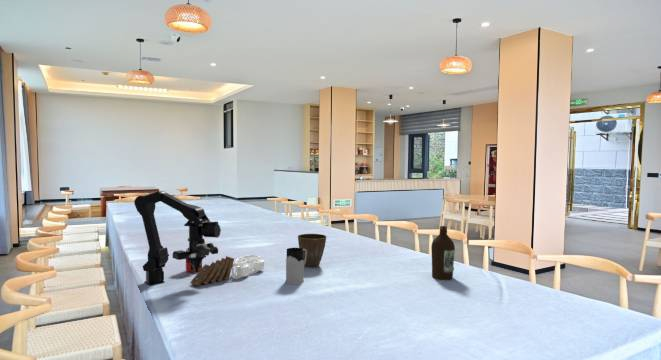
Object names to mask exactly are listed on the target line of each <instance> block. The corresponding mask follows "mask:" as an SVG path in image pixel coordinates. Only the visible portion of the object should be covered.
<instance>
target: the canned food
mask: <svg viewBox="0 0 661 360" xmlns="http://www.w3.org/2000/svg"><path fill="white" fill-rule="evenodd" d="M188 248H189V247H187V248H186V249H185V251H186V252H187V251H189V250H188ZM194 253H195V252H194ZM202 268H203V260H202V261H201V264H200V266H199V269H198V272H199V271H200V270H201V269H202ZM185 272H186V273H189V274H196V273H197V274H198V272H194V269H193V267H192V265H191V263H190V261H189V259H188V258H186V259H185Z"/></svg>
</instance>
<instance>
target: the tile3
mask: <svg viewBox="0 0 661 360" xmlns="http://www.w3.org/2000/svg"><path fill="white" fill-rule="evenodd" d="M214 263H217V264H219V265H220V267H219V268H218V270H217V271H216V272H215V274H214V275H213V277H212V278H211V279H210V281H209V282H210V283H211V284H214V283H216V281H217V280H216V279H217V277H218V276H219V274H220V272H221V270H222V268H223V267H224V265H225V263H224V262H223V261H221V260H219V259H216V261H215V262H214ZM209 282H208V283H209Z"/></svg>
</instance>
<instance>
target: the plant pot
mask: <svg viewBox="0 0 661 360" xmlns="http://www.w3.org/2000/svg"><path fill="white" fill-rule="evenodd" d="M326 241H327V235H325V234H322V233H321V234H319V233H303V234H298V235H297V242H298V248H302V249H306V251H307V257H306V262H305V265H304V267H305V268H310V269H311V268H313V269H314V267H315V268H318V267H319V266H320V264H321V262H322V261H321V260H322V258H323V256H324V251H325V247H326V243H327V242H326ZM303 260H305V250H303Z"/></svg>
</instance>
